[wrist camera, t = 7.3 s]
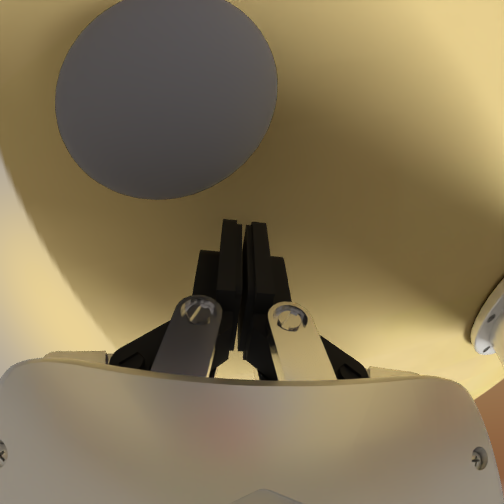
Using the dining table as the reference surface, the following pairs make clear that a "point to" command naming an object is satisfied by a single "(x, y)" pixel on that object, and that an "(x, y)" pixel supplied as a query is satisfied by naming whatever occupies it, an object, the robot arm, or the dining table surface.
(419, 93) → the dining table surface
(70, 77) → the grey ball
